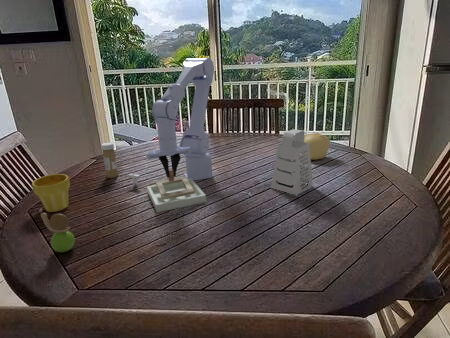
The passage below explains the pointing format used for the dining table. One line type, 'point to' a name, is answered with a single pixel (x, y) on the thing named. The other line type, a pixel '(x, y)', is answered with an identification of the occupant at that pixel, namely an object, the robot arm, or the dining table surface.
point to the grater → (292, 163)
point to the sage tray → (177, 201)
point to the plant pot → (52, 191)
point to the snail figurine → (59, 232)
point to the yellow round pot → (317, 145)
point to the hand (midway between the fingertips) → (171, 176)
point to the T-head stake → (134, 179)
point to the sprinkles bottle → (109, 159)
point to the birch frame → (171, 180)
